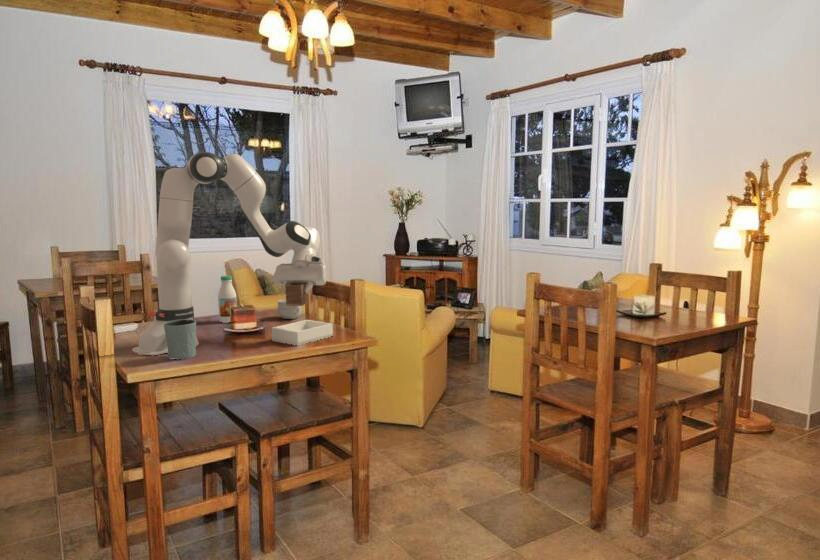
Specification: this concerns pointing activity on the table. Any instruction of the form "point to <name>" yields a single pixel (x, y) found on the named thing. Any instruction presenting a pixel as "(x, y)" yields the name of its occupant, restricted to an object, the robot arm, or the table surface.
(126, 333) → the table surface
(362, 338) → the table surface
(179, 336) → the green cup
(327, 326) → the white crate
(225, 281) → the milk bottle
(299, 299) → the walnut crate
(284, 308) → the teacup
